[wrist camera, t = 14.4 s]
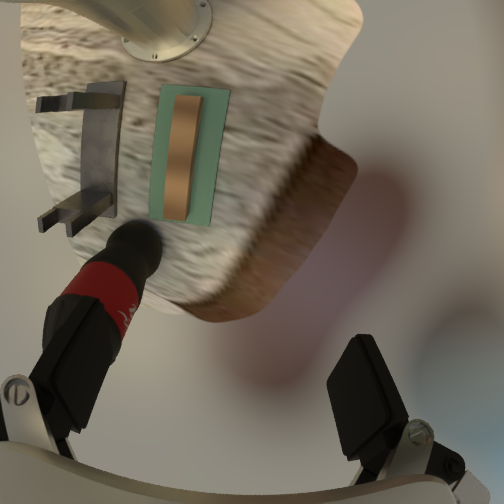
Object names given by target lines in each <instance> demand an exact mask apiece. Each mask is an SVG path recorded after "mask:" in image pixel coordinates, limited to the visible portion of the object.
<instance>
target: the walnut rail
mask: <svg viewBox="0 0 504 504" xmlns="http://www.w3.org/2000/svg"><path fill="white" fill-rule="evenodd" d="M203 101H204V98H202V97H201V96H188V95H176V97H175V103H174V110H173V117H172V124H171V132H170V140H169V149H168V158H167V169H166V181H165V194H164V210H163V219H169V220H177V221H186V219H187V217H188V215H189V210H190V200H191V190H192V181H193V172H194V164H195V156H196V148H197V141H198V134H199V127H200V120H201V114H202V107H203Z"/></svg>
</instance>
